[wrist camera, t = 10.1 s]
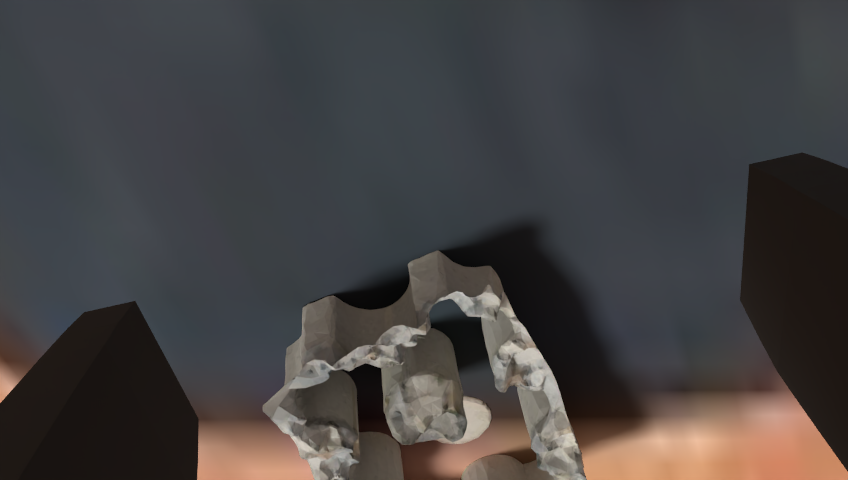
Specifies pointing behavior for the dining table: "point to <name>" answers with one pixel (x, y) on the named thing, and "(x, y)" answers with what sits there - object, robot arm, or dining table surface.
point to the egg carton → (418, 382)
